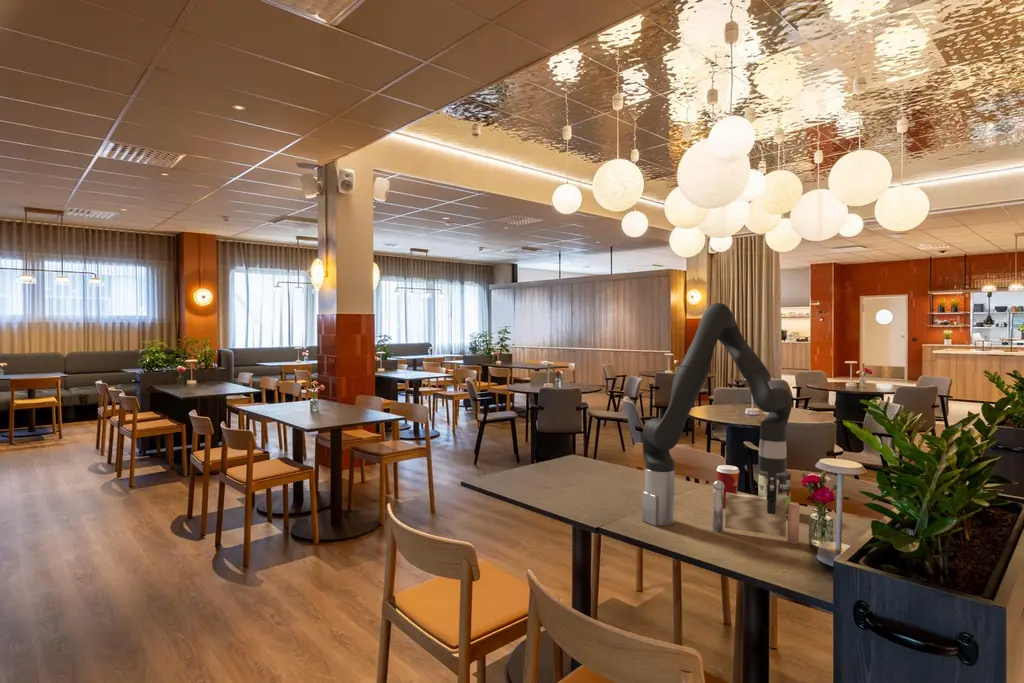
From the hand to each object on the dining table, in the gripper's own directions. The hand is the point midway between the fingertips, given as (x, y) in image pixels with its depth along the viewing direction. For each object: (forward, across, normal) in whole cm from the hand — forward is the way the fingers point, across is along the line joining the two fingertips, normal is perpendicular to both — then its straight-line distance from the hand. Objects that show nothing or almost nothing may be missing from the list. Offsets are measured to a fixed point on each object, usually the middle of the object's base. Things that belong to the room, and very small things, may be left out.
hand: (771, 512), depth 167 cm
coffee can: (+8, +28, -1) cm, 29 cm away
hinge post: (+8, 0, +15) cm, 17 cm away
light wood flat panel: (+7, 0, +4) cm, 8 cm away
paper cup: (+8, +27, +14) cm, 32 cm away
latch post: (+8, 0, -6) cm, 10 cm away
